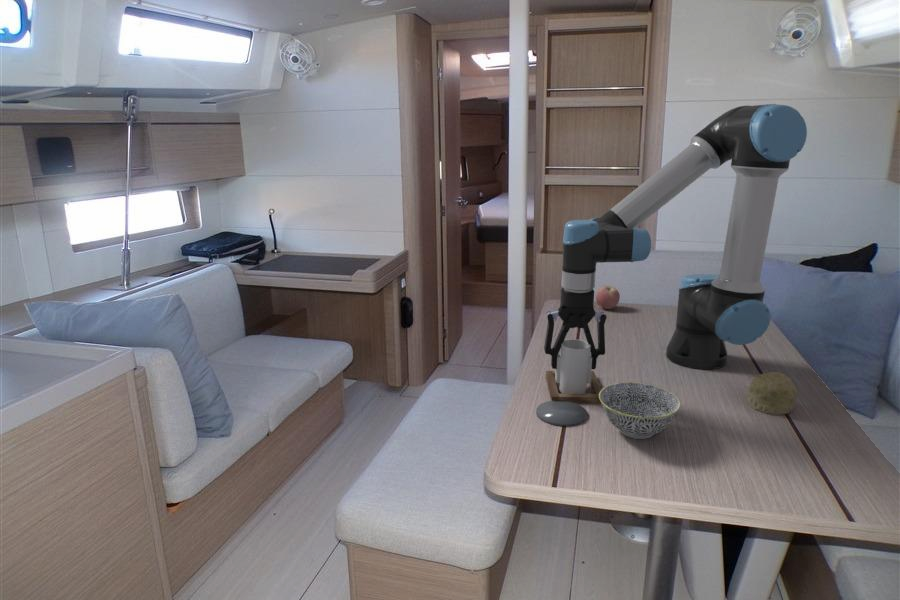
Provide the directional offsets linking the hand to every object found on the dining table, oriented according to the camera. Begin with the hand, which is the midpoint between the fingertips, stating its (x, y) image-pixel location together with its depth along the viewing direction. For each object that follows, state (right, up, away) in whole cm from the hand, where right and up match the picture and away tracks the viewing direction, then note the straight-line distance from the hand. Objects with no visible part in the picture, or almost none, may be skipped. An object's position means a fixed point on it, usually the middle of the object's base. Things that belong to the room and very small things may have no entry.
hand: (572, 380), depth 144 cm
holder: (0, -2, +1) cm, 2 cm away
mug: (0, -2, +1) cm, 2 cm away
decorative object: (+42, -5, -9) cm, 44 cm away
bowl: (+9, -8, -19) cm, 23 cm away
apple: (+24, +16, +62) cm, 68 cm away
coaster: (-5, -6, -12) cm, 14 cm away
